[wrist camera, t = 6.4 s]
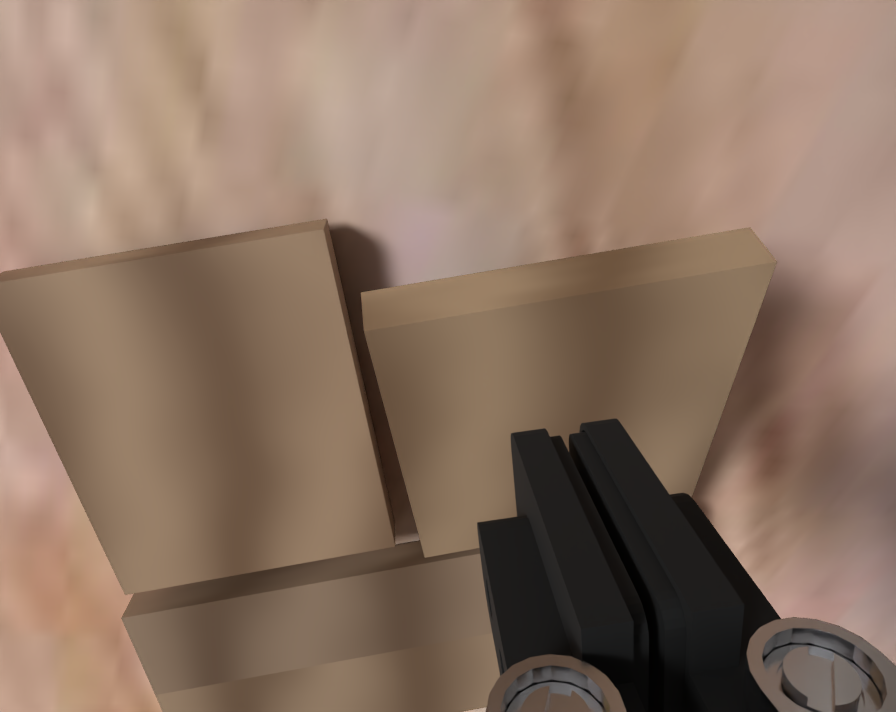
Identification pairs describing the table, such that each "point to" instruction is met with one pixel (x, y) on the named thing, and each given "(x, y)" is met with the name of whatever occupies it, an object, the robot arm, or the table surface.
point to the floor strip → (323, 636)
